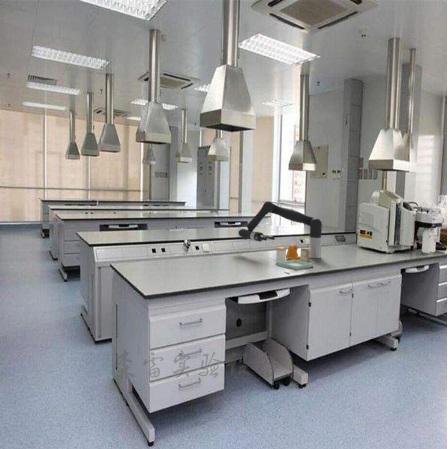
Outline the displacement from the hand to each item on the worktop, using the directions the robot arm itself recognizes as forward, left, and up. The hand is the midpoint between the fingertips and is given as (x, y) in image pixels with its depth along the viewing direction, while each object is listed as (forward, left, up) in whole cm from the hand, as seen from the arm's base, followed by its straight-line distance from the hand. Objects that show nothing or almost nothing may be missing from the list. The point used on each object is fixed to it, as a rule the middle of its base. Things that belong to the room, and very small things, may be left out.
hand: (270, 238), depth 293 cm
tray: (0, +27, -17) cm, 32 cm away
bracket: (-20, +7, -18) cm, 28 cm away
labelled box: (0, +12, -17) cm, 21 cm away
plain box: (-14, +24, -17) cm, 33 cm away
